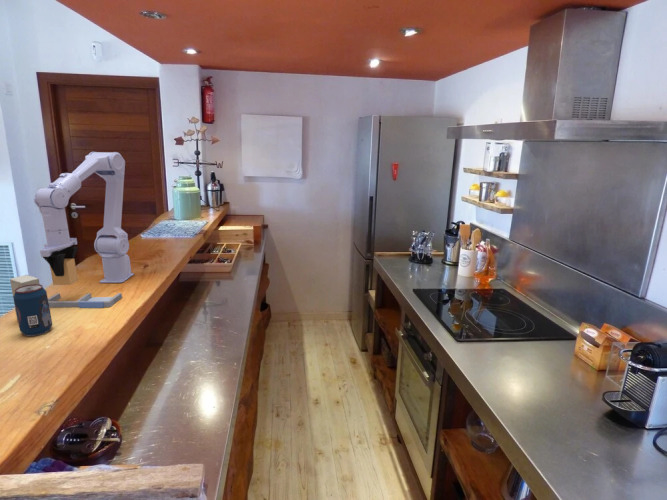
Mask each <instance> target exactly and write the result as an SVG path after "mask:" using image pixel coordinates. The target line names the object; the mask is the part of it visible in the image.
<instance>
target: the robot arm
mask: <svg viewBox="0 0 667 500" xmlns="http://www.w3.org/2000/svg"><path fill="white" fill-rule="evenodd" d="M125 167H126V160H125V159H124V157H123V156H122V155H121V153H120V152H117V151H113V152H108V151H107V152H106V151H105V152H104V151H103V152H99V151H98V152H97V151H91V152H89V153H88V154H87V155H85V157H84V160H83V161H82V163H80V164H79V165H78V166H77V167H76V169H74V170H73V171H72V172H71V173H69V172H63V173H60V174H59V177H58V178H57V179H55V181H53V182H50V183H49V184H48V186H47V187H41V188H39V189H38V190H37V191H36V193H35V195H34V198H33V202H34V204H35V206H36V207H38V209H39V213H40V214H41V216H42V221H43V227H44V231H45V238H46V243H45V244H43V246H44V247H43V248H42V249H40V250H39V252H40V257H41V258H43V259H44V260H45V261H46V262H47V264H48V265H49V267H50V266H51V268H52V270H53V272H54V274H55V276H64V259H74V260H75V257H76V254H77V252H78V249H79V247H78V246H75V245H78V239H77V237H70V232H69V225H68V220H67V214H66V207H67V206H68V205H69V200H70V198H71V197H72V196H73V195H74V194H75V193H76V192H77V191H79V190H80V189H81V187H82V182H83V181H85V180H86V179H87V178H89V177H90V176H92V175H93V174H94V173H95V174H96V175H98V176H99V177H100V178H102V179H103V180H104V181H105V195H104V197H105V198H104V211H103V212H104V213H103V227H102V228H101V229H99V230H98V231H97V232H96V238H95V240H94V243H93V247H94V251H95V252H96V253H97V254H99V257H101V262H102V269H103V275H104V278H103V279H101V280H99V283H101V284H103V283H106V284H107V283H109V284H112V283H114V284H116V283H117V284H118V283H120V284H121V283H124V282H126V281H127V280H129V278H131V277H132V276H134V275H135V273H134V272H132V269H131V258H130V256H129V255H128V251H129V249H130V243H129V237H128V236H129V235H128V233H127V232H126V231H125V230H124V229H123V228H122V217H123V216H122V215H123V203H124V202H123V201H124V183H125V171H126V169H125Z"/></svg>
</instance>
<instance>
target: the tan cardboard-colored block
mask: <svg viewBox="0 0 667 500" xmlns="http://www.w3.org/2000/svg"><path fill="white" fill-rule="evenodd" d="M75 260H76V259H75V258H74V259H64V276H55V274H54V272H53V270H52V268H51V266H50V265H49V269H50V273H51V279H52V280H51V281H52V285H53V286H56V285H57V286H65V285H66V286H71V285H73V284H75V283H76V282H78V280H79V279H78V272H77V268H76V261H75Z"/></svg>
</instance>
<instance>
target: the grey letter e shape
mask: <svg viewBox="0 0 667 500" xmlns="http://www.w3.org/2000/svg"><path fill="white" fill-rule="evenodd" d="M61 298H62V296H61V293H60V292H59V293H58V292H57V293H55V294H53V295H52V296H50V297H48V303H49V308H79V309H104V308H111V307H112V306H113V305H114V304H116V303H117V302H118V301H120V300H121V299H122V298H123V294H122V292H118V293H116V294H115V295H114V296H104V297H103V296H97V297H96V296H95V297H94V296H93V297H92V293H91V292H89V293H85V294H84V295H83V296H81V297H80V298H78V299H76V300H60V299H61Z"/></svg>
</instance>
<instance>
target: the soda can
mask: <svg viewBox="0 0 667 500" xmlns="http://www.w3.org/2000/svg"><path fill="white" fill-rule="evenodd" d="M12 298H13V299H12V300H13V304H15V305H14V309H16V311H15V314H17V316H16V320H17V319H18V320H17V322H18V327H19V331H20V333H22V334H23V335H24V336H26V337H35V336H40V335H44V334H46V333H48V332H49V331H50V330H51V328H52V326H53V319H52V316H51V315H52V314H51V310H50V308H51V307H49V303H48V298H49V297H48V292H47V290H46V289H45V288H44V286H43V285H42V284H40V283H39V284H31V285H25V286H21V287H19V288H16V289H15V294H14V296H13V295H12Z"/></svg>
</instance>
